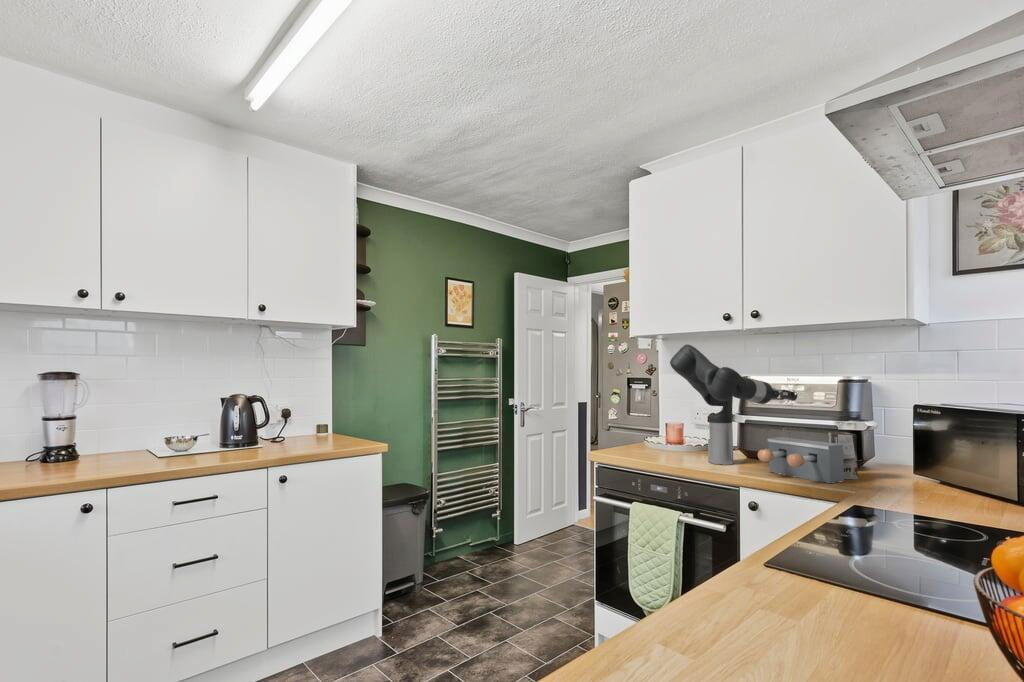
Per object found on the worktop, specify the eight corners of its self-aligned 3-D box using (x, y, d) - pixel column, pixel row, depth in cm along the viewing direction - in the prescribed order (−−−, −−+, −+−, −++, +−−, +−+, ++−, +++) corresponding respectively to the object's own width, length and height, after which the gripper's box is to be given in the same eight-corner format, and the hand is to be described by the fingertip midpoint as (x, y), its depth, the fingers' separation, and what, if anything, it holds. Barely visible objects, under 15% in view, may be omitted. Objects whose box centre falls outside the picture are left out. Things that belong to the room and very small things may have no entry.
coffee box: (858, 479, 194) (857, 434, 195) (839, 479, 195) (837, 434, 196) (848, 474, 203) (846, 431, 204) (829, 474, 204) (828, 431, 205)
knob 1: (757, 460, 201) (757, 448, 201) (779, 458, 206) (779, 446, 206) (768, 462, 197) (767, 450, 197) (789, 460, 202) (789, 448, 203)
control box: (768, 472, 209) (767, 438, 209) (783, 470, 212) (782, 437, 213) (829, 483, 187) (828, 446, 188) (844, 481, 191) (842, 444, 192)
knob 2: (787, 465, 190) (786, 453, 190) (809, 463, 196) (808, 450, 196) (798, 467, 186) (798, 455, 186) (820, 464, 192) (820, 452, 192)
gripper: (775, 379, 173) (803, 386, 182) (735, 380, 185) (763, 387, 193) (775, 402, 172) (802, 408, 180) (735, 402, 183) (762, 407, 192)
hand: (782, 397), depth 187 cm, fingers open, 8 cm apart
